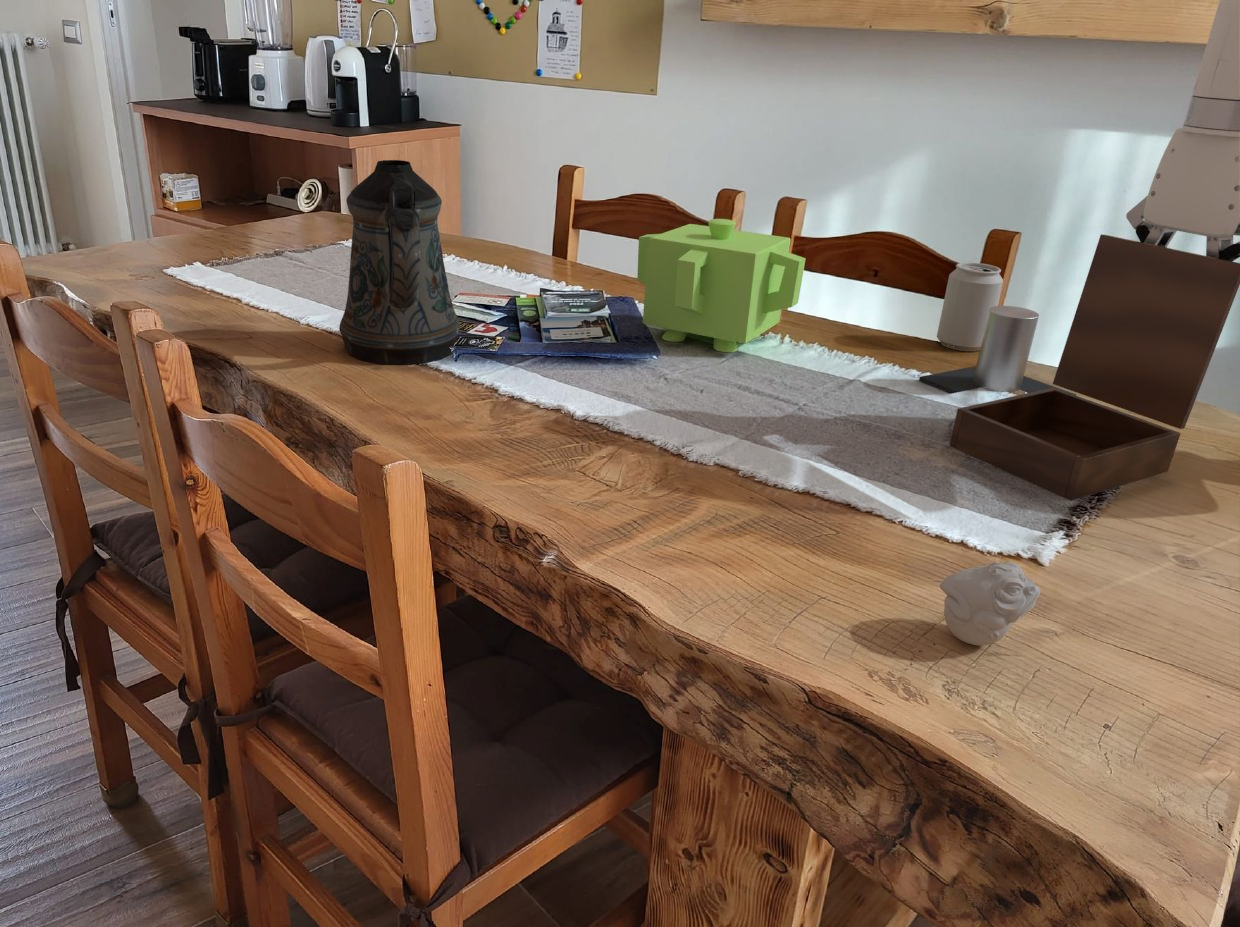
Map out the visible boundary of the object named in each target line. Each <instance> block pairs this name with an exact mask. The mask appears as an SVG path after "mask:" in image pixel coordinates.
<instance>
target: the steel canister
mask: <svg viewBox="0 0 1240 927" xmlns="http://www.w3.org/2000/svg"><path fill="white" fill-rule="evenodd" d="M1039 319H1040V314H1039V313H1038V312H1036V311H1034V310H1032V309H1029V308H1025V307H1020V306H1013V305H998V306H994V307H991V308H990V309H989V312H988V317H987V321H986V326H985V330H984V334H983V339H982V343H981V347H980V350H979V352H978V357H977V361H976V365H975V366H976V369H975V373H974V378H973V383H974V385H976V386H977V387H980V388H979V389H981V388H982V389H985V390H988V391H993V392H1001V393H1014V392H1018V391H1021V390H1020V389H1021V385H1022V381H1023V377H1024V376H1025V373H1026V369H1027V365H1028V361H1029V357H1030V353H1031V349H1032V345H1033V341H1034V337H1035V333H1036V330H1037V326H1038V322H1039Z"/></svg>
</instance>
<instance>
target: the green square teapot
mask: <svg viewBox="0 0 1240 927" xmlns="http://www.w3.org/2000/svg"><path fill="white" fill-rule="evenodd" d="M736 224H737V222H736V221H735V220H732V219H727V218H712V219H710V220H708V225H702V224H693V223H688V224H686V225H683V226H679V227H677V228H674V229H670V230H667V231H665V232H662V233H650V234H644V235H642V236H639V237H638V249H637V250H638V252H637V253H638V254H637V276H636V278H637V281H638V282H639V283H641V284H643V285H644V298H643V312H642V324H643V325H646V326H651V327H652V326H653V327H658V328H663V329H666V331H665V332H664V334H663V335H662V336H661V339H662V340H664V341H667V342H677V343H678V342H684V341H685V340H686V337H687V335H688V334H692V335H699V336H704V337H708V338H713V349H714V350H715V351H717V352H722V353H735V352H737V351H738V346H737V343H739V344H747V343H749V342H751V341H752V340H753V339H756V338H759V336H760V335H761V334H764V333H765V332H766V331H768V330H769V329H771V328H772V327H774V326H776V325H777V324H779V323H780V322H781V316H782V310H785V309H791V308H793V307H794V306H796V305H797V304H799V300H800V293H801V287H802V283H803V276H804V270H805V264H806V260H807V259H806V257H802V256H800V255H797V254H795V253H791V252H790V247H791V241H792V240H791V237H786V236H780V235H772V234H765V233H758V232H752V231H746V230H737V229H735V228H736Z"/></svg>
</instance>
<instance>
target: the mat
mask: <svg viewBox="0 0 1240 927" xmlns="http://www.w3.org/2000/svg"><path fill="white" fill-rule="evenodd" d="M975 369H976V365H973V366H968V367H962V368H957V369H953V370H948V371H942V372H937V373H932V374H926V375H921V376H919V378H918V381H919V382H921V383H924V384H926V385H928V386H931V387H934V388H936V389H939V390H941V391H944V392H947V393H948V394H957V393H962V392H967V391H972V390H976V389H981V388H980V387H977V386H976V385H974V383H973V378H974V373H975ZM1050 388H1056V389H1059V390H1062V391H1064V392H1067V393H1070V394H1073V395H1076V396H1077V394H1076V393H1075V392H1074V393H1073V392H1072V391H1071V392H1070V391H1069V390H1066V389H1063V388H1061V387H1060V388H1059V387H1058V386H1057V387H1056V386H1055V385H1051V384H1048V383H1045V382H1043V381H1040V380H1036V379H1034V378H1031V377H1029V376H1026V375H1024V377H1023V381H1022V385H1021V389H1020V390H1019V391H1022V392H1025V393H1026V394H1027V393H1031V392H1036V391H1041V390H1045V389H1050Z"/></svg>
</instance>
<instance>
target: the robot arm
mask: <svg viewBox="0 0 1240 927" xmlns="http://www.w3.org/2000/svg"><path fill="white" fill-rule="evenodd" d="M1208 35H1209V36H1208V39H1207V42H1206V46H1205V49H1204V53H1203V56H1202V60H1201V63H1200V66H1199V70H1198V73H1197V76H1196V79H1195V83H1194V87H1193V90H1192V93H1191V97H1190V100H1189V104H1188V107H1187V110H1186V114H1185V118H1184V121H1183V124H1182V127H1181V128H1180V127H1179V128H1176V129H1175V131H1174V133H1173V135H1172V136H1171V138H1170V140H1169V141H1168V144H1167V146H1166V148H1165V150H1164V151H1163V154H1162V156H1161V159H1160V161H1159V163H1158V166H1157V168H1156V171H1155V173H1154V176H1153V179H1152V181H1151V184H1150V187H1149V190H1148V194H1147V196H1145V197H1144V198H1143V199H1142V200H1140V201H1139V202H1138V203H1137V204H1136V205H1134V207H1132V208H1131V209H1129V211H1128V212H1126V215H1125V217H1126V220H1127V221H1128V223H1129V224H1130V225H1131V227H1132V228H1133V230H1135V235H1136V236H1137V239H1138V240H1139V242H1143V243H1147V244H1152V245H1157V246H1161V247H1166V248H1168V246H1169V244H1170V243H1171V241H1172V240H1173V238H1174V236H1175V235H1176V233H1177V232H1181V233H1186V234H1192V235H1198V236H1203V237H1206V243H1205V244H1206V245H1205V256H1209V257H1213V258H1218V259H1223V260H1228V261H1232V262H1235V261H1236V260H1238V259H1240V241H1238V242H1235V243H1234V236H1240V0H1219V2H1218V5H1217V8H1216V12H1215V15H1214V18H1213V22H1212V25H1211V28H1210V31H1209V34H1208Z"/></svg>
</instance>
